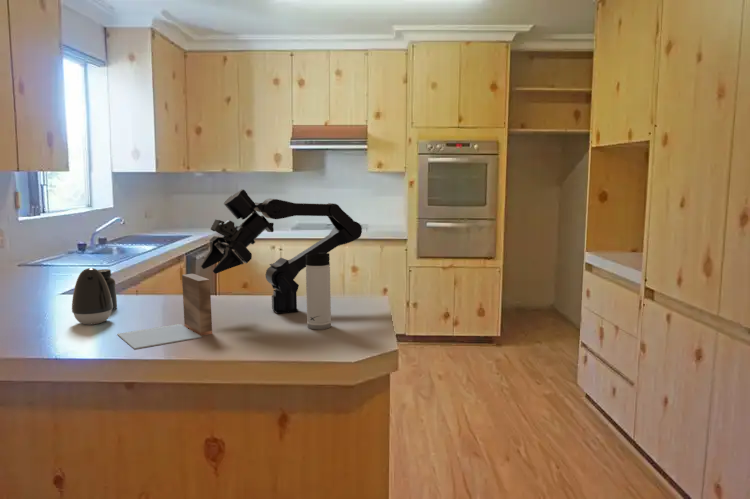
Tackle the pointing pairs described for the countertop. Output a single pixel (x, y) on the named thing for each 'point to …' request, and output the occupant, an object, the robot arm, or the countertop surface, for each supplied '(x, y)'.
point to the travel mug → (318, 291)
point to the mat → (158, 336)
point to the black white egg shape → (91, 298)
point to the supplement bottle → (110, 285)
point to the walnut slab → (197, 304)
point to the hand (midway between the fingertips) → (207, 270)
